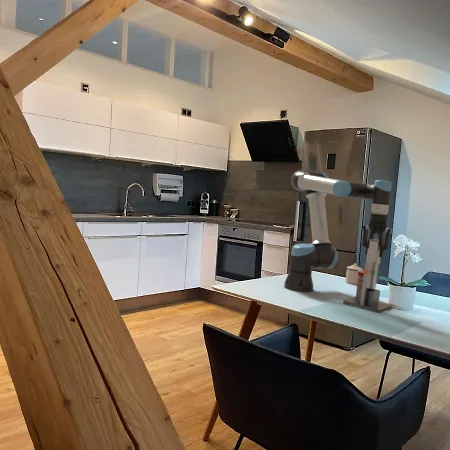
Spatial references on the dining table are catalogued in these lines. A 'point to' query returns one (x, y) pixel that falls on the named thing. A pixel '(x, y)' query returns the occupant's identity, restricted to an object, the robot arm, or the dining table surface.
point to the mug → (359, 280)
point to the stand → (368, 297)
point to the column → (373, 263)
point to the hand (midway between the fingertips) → (372, 263)
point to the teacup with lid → (352, 274)
